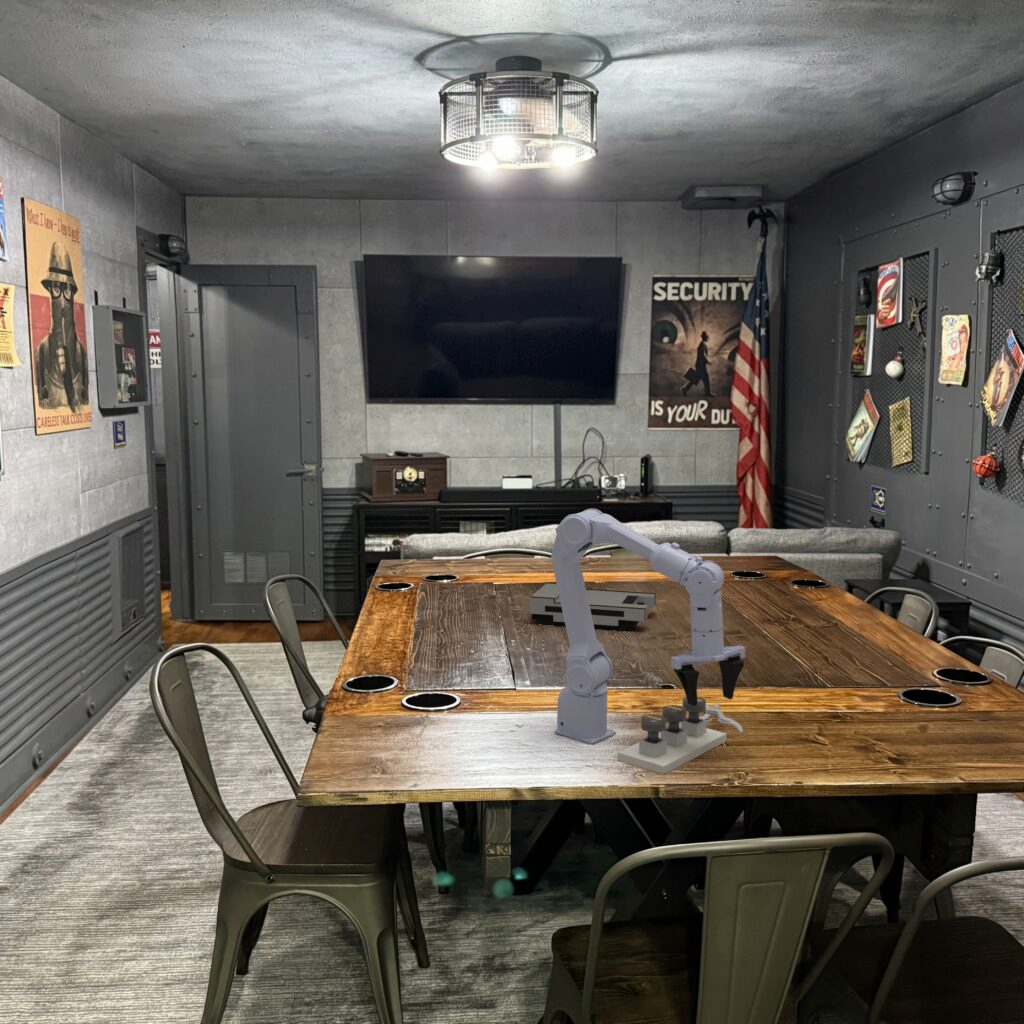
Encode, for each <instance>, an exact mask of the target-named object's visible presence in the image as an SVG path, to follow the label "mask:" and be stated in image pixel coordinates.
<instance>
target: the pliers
mask: <svg viewBox="0 0 1024 1024" xmlns="http://www.w3.org/2000/svg"><path fill="white" fill-rule="evenodd" d="M719 704H720V703H719V702H715V703H714V704H713V706H711V705H709V704H708V703H706V710H705V711H704V712H703V713H704V715H702V716H701V715H700V716H699V718H700V719H704V720H707V724H709V723H710V722H713V719H712V718H710V717H716V718H717V719H716V721H717V722H718V723H721V724H723V725H727V726H731V727H732V726H733V727H734V728H735V729H736V730H737V732H738V733H739V734H743V732H744V731H743V729H744V728H743V726H742V725H741V724H740V723H739V722H738V721H736V720H735V719H733V718H730V717H727V716H725V713H724V712H723V711H722V710H721V709H720V705H719Z"/></svg>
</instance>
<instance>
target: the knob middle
mask: <svg viewBox="0 0 1024 1024" xmlns="http://www.w3.org/2000/svg"><path fill="white" fill-rule="evenodd" d="M661 716H663V717H665V718H666V722H668V726H669V731H670V732H679V725H680V722H683V721H685V720H686V718H687V711H686V708H685V707H682V706H681V705H677V704H668V705H664V706H663V707H662V715H661Z"/></svg>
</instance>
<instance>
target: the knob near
mask: <svg viewBox="0 0 1024 1024" xmlns="http://www.w3.org/2000/svg"><path fill="white" fill-rule="evenodd" d="M640 724H641V727H640V728H641V730H643V731H646V732H647V736H648V741H649V742H653V743H655V742H658V741H659V733H660V732H661V731H664V730H665V729H666V726H667V725H666V724H667V721H666V718H665V717H663V716H662V715H661V714H652V713H651V714H644V715H642V716H641V723H640Z"/></svg>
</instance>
